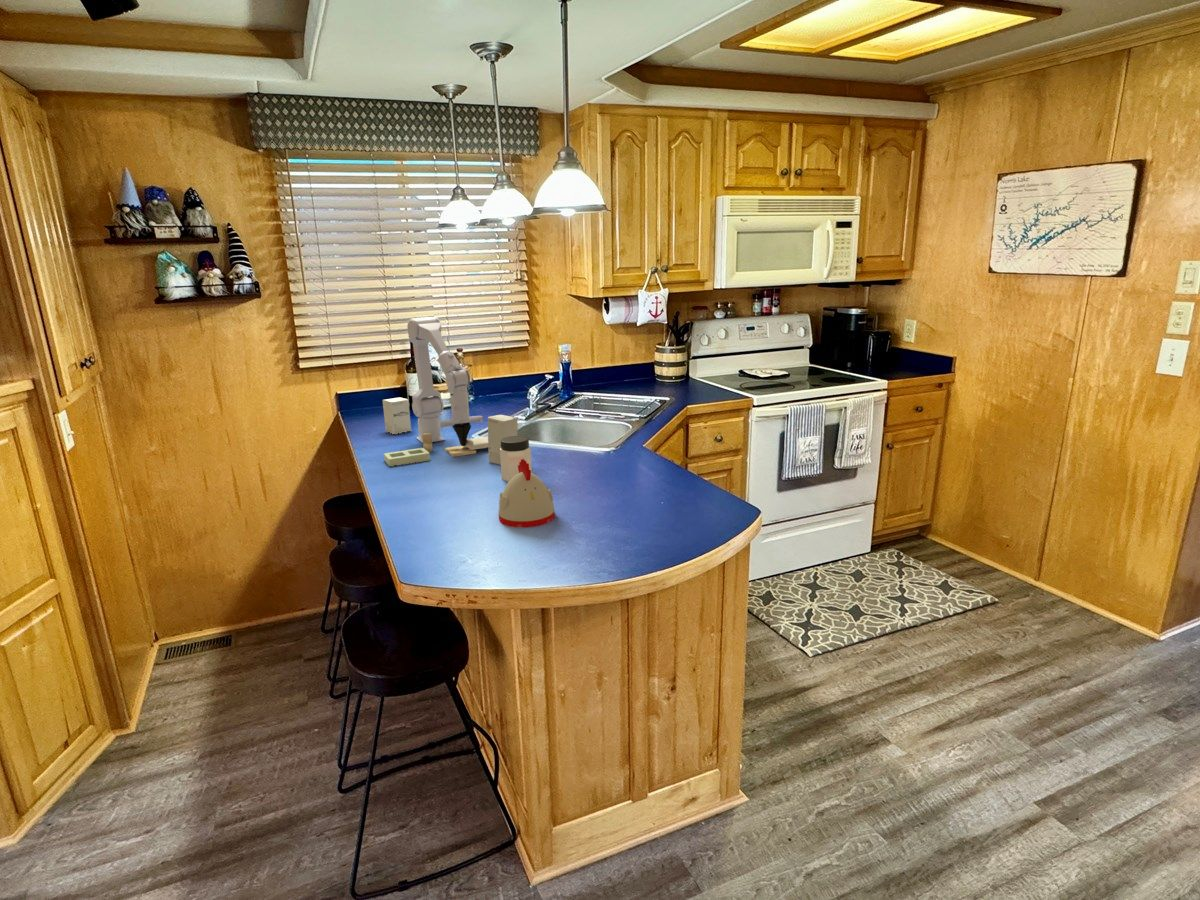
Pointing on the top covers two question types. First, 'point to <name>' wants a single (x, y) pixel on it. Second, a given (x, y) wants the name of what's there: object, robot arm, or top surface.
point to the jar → (514, 455)
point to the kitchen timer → (525, 500)
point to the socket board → (406, 456)
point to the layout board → (459, 451)
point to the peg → (427, 442)
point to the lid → (477, 443)
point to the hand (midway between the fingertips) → (463, 445)
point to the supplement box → (396, 415)
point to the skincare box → (499, 434)
